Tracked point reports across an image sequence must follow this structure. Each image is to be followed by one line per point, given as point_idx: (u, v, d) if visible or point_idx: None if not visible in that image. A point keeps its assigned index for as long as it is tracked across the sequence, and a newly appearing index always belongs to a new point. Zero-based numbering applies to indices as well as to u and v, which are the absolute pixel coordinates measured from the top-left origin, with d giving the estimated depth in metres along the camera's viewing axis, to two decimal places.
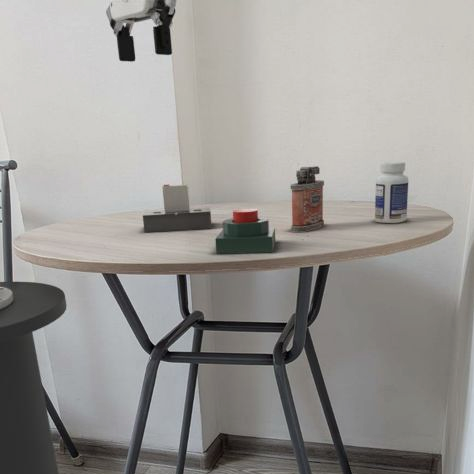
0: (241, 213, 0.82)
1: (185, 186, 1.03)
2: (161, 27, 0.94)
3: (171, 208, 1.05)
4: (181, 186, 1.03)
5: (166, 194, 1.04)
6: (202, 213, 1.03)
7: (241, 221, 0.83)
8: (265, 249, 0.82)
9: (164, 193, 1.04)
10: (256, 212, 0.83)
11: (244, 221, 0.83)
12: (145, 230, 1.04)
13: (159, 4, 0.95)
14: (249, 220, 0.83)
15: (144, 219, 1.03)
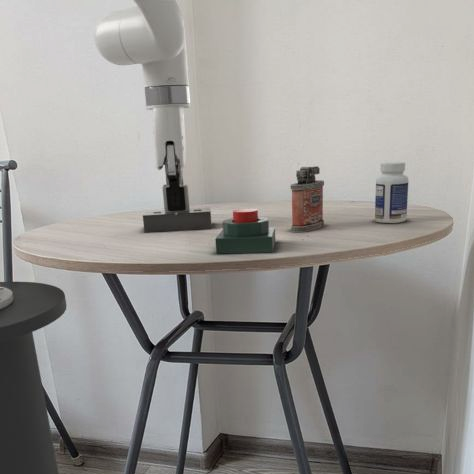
0: (241, 213, 0.82)
1: (185, 186, 1.03)
2: (170, 189, 1.02)
3: None
4: None
5: None
6: (202, 213, 1.03)
7: (241, 221, 0.83)
8: (265, 249, 0.82)
9: (164, 193, 1.04)
10: (256, 212, 0.83)
11: (244, 221, 0.83)
12: (145, 230, 1.04)
13: (177, 159, 0.99)
14: (249, 220, 0.83)
15: (144, 219, 1.03)
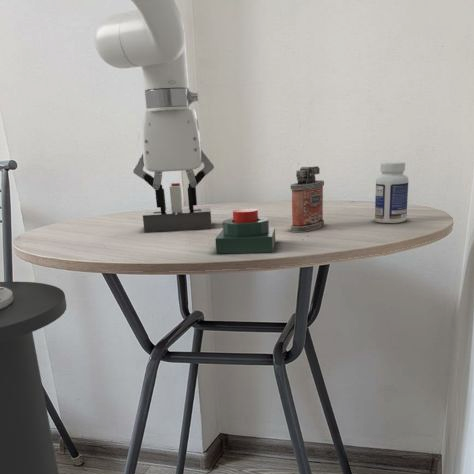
0: (241, 213, 0.82)
1: None
2: None
3: None
4: (170, 187, 1.03)
5: None
6: (202, 213, 1.03)
7: (241, 221, 0.83)
8: (265, 249, 0.82)
9: None
10: (256, 212, 0.83)
11: (244, 221, 0.83)
12: (145, 230, 1.04)
13: None
14: (249, 220, 0.83)
15: (144, 219, 1.03)
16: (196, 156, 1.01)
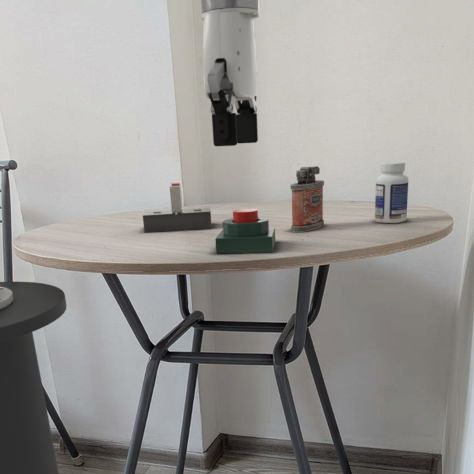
0: (241, 213, 0.82)
1: None
2: (216, 115, 0.76)
3: None
4: (170, 187, 1.03)
5: None
6: (202, 213, 1.03)
7: (241, 221, 0.83)
8: (265, 249, 0.82)
9: None
10: (256, 212, 0.83)
11: (244, 221, 0.83)
12: (145, 230, 1.04)
13: (232, 84, 0.76)
14: (249, 220, 0.83)
15: (144, 219, 1.03)
16: (257, 81, 0.82)
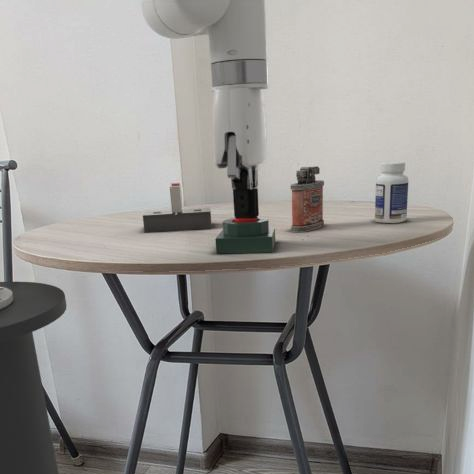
0: (241, 220, 0.83)
1: None
2: (237, 191, 0.82)
3: None
4: (170, 187, 1.03)
5: None
6: (202, 213, 1.03)
7: None
8: (265, 249, 0.82)
9: None
10: (256, 219, 0.84)
11: None
12: (145, 230, 1.04)
13: (242, 155, 0.78)
14: None
15: (144, 219, 1.03)
16: (266, 147, 0.84)
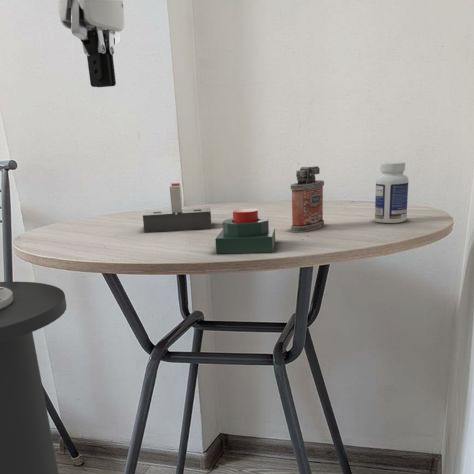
0: (241, 213, 0.82)
1: None
2: (90, 56, 0.81)
3: None
4: (170, 187, 1.03)
5: None
6: (202, 213, 1.03)
7: (241, 221, 0.83)
8: (265, 249, 0.82)
9: None
10: (256, 212, 0.83)
11: (244, 221, 0.83)
12: (145, 230, 1.04)
13: None
14: (249, 220, 0.83)
15: (144, 219, 1.03)
16: (123, 14, 0.83)
